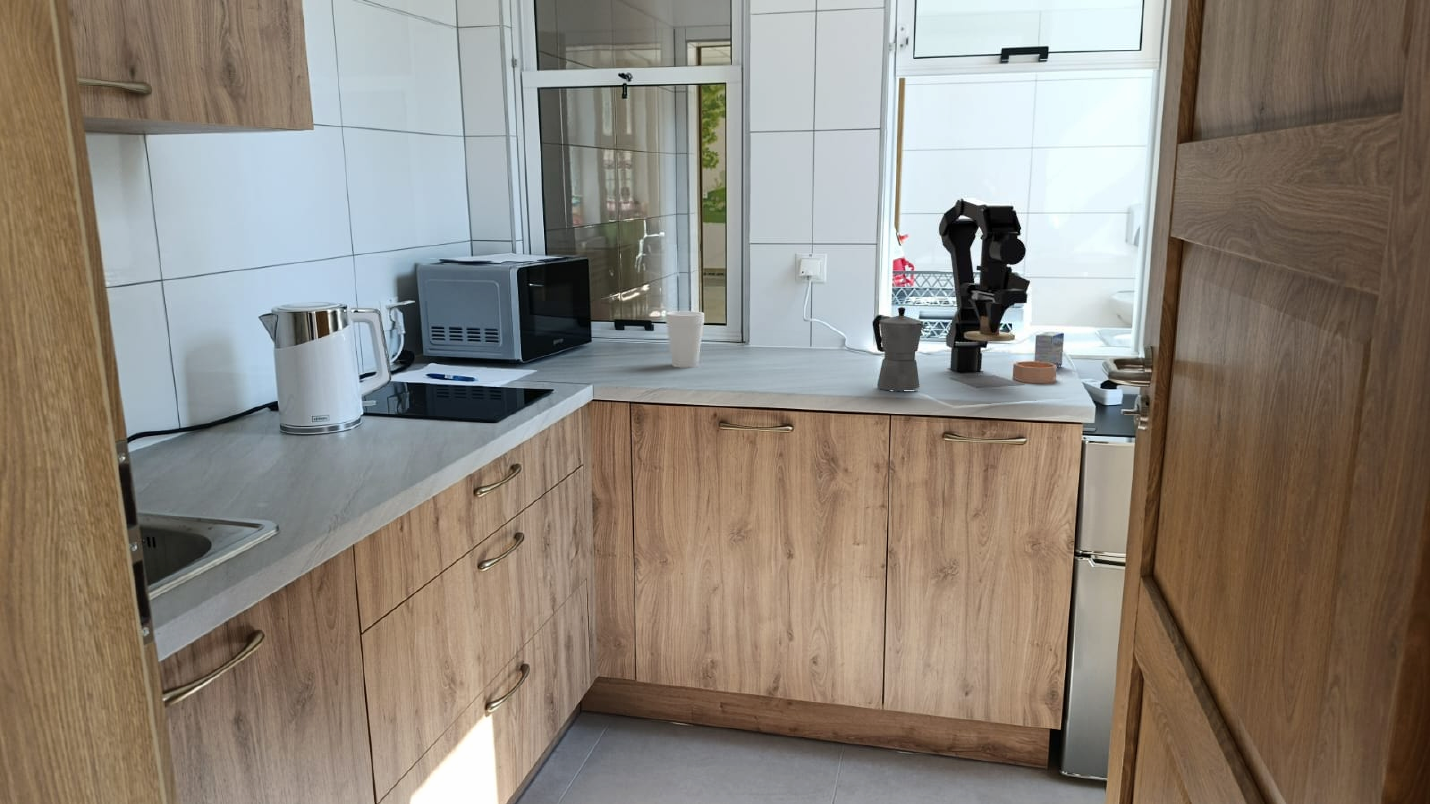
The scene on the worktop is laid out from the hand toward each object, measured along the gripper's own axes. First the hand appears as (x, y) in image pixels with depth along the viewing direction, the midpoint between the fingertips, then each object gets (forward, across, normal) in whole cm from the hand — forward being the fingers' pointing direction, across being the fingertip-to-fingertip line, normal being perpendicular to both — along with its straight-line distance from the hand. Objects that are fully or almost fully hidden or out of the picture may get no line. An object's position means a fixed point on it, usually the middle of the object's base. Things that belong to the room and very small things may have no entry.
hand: (989, 331), depth 228 cm
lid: (+1, 0, 0) cm, 1 cm away
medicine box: (+12, +14, -26) cm, 32 cm away
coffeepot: (+12, +2, +22) cm, 25 cm away
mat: (+12, 0, 0) cm, 12 cm away
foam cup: (+12, +42, +59) cm, 74 cm away
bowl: (+12, -1, -12) cm, 17 cm away
